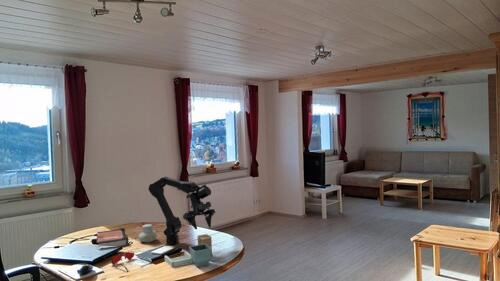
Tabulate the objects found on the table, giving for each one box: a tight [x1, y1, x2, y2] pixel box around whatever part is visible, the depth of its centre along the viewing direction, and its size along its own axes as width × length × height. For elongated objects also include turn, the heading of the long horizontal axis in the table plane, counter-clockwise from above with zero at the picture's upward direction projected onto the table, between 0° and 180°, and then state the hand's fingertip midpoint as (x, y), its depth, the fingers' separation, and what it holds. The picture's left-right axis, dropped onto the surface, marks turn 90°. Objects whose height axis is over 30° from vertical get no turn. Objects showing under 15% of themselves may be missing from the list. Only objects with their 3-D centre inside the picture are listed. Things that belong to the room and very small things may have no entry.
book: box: [96, 227, 129, 247], centre depth 238 cm, size 26×18×5 cm
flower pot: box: [188, 244, 211, 268], centre depth 191 cm, size 9×9×9 cm
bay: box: [164, 251, 194, 268], centre depth 197 cm, size 12×12×2 cm
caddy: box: [196, 233, 213, 259], centre depth 203 cm, size 7×5×11 cm
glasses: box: [110, 250, 153, 273], centre depth 195 cm, size 14×16×5 cm
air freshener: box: [138, 223, 158, 244], centre depth 235 cm, size 11×8×10 cm
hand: (203, 228), depth 212 cm, fingers open, 9 cm apart
